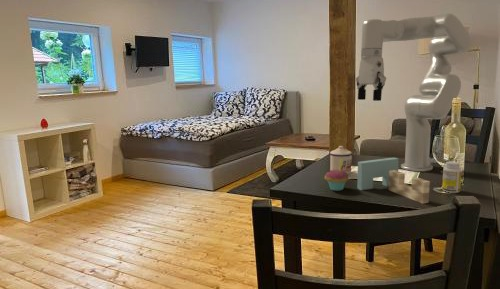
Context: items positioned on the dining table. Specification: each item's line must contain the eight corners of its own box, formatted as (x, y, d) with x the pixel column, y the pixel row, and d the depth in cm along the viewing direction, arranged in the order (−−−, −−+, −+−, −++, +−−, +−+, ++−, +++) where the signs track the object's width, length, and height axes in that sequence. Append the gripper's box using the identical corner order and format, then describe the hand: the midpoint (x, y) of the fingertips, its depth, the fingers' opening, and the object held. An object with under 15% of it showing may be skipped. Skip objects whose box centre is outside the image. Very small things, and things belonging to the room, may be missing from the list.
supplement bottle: (453, 188, 132) (455, 160, 130) (463, 193, 127) (465, 163, 125) (438, 189, 132) (440, 161, 130) (448, 194, 126) (450, 164, 124)
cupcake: (344, 185, 140) (345, 154, 138) (351, 191, 132) (352, 159, 130) (322, 186, 140) (322, 155, 138) (327, 192, 132) (327, 160, 129)
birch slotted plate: (388, 189, 133) (389, 171, 131) (394, 189, 133) (394, 170, 132) (422, 203, 118) (423, 182, 116) (428, 202, 118) (429, 181, 117)
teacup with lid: (343, 177, 151) (343, 149, 149) (325, 173, 158) (325, 146, 156) (360, 171, 159) (360, 144, 157) (342, 168, 166) (342, 142, 164)
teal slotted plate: (393, 183, 141) (394, 157, 139) (397, 184, 138) (398, 158, 137) (357, 188, 136) (357, 161, 134) (361, 190, 133) (361, 163, 131)
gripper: (395, 52, 132) (392, 100, 135) (366, 56, 148) (364, 99, 151) (377, 52, 130) (374, 101, 132) (349, 55, 146) (348, 99, 149)
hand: (369, 100), depth 142 cm, fingers open, 9 cm apart
